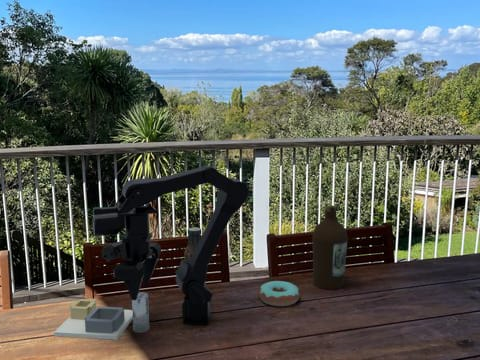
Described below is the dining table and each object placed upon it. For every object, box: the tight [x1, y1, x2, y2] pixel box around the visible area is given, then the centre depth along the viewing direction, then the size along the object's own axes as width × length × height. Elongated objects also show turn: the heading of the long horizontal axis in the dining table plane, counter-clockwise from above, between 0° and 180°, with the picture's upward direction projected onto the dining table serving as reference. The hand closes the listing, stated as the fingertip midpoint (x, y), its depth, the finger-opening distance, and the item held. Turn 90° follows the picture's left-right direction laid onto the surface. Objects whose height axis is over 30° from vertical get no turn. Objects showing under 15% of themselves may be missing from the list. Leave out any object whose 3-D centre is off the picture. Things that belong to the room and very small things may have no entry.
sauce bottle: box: [183, 227, 202, 261], centre depth 138 cm, size 7×6×20 cm
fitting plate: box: [53, 298, 133, 341], centre depth 121 cm, size 16×14×4 cm
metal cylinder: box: [131, 291, 150, 334], centre depth 118 cm, size 4×4×9 cm
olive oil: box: [311, 204, 348, 290], centre depth 145 cm, size 11×11×25 cm
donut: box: [258, 280, 301, 307], centre depth 136 cm, size 12×12×4 cm
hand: (140, 292), depth 117 cm, fingers open, 9 cm apart
